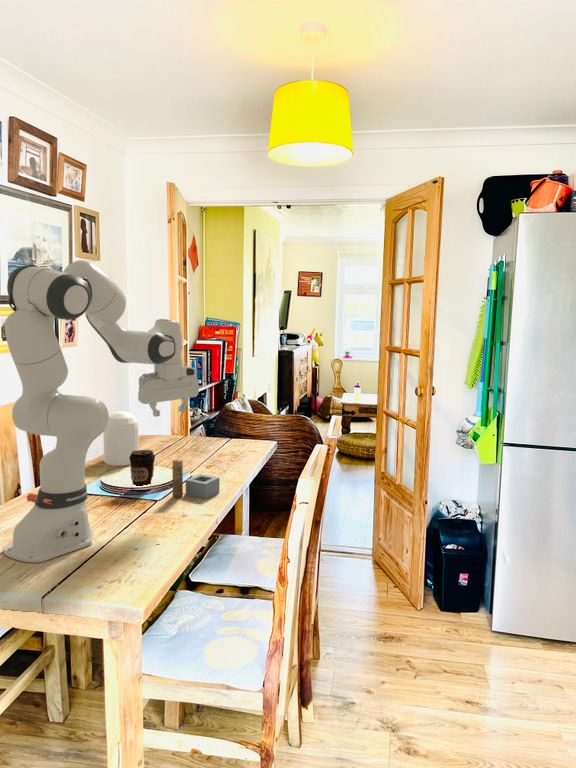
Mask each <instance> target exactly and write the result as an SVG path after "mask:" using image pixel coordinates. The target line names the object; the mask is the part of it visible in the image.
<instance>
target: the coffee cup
mask: <svg viewBox="0 0 576 768" xmlns="http://www.w3.org/2000/svg"><path fill="white" fill-rule="evenodd" d="M131 453H132V454H131V455H130V463H131V464H130V478H131V481H132V485H133V484H134V485H136V486H143V485H148V484H151V485H152V480H153V479H152V478H153V477H154V470H155V466H154V465H155V459H156V454H154V451H153V450H151V449H140V450H138V451H132V452H131Z"/></svg>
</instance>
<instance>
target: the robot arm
mask: <svg viewBox="0 0 576 768" xmlns="http://www.w3.org/2000/svg"><path fill="white" fill-rule="evenodd" d="M6 286H7V287H6V290H7V295H8V305H9V307H10V308H11V309H12V310H13V312H11V313H10V314H8V316H7V317H6V318H5V321H4V326H3V327H4V328H3V329H4V333H5V337H6V338H5V340H6V343H7V347H8V349H9V353H10V355H11V358H12V361H13V363H14V366H15V367H16V368H15V369H16V371H17V374H18V376H19V379H20V383H21V386H22V393H21V396H20V397H18V399H17V400H16V401H15V402H14V405H13V407H12V412H11V417H12V421H13V423H14V425H15V427H16V428H17V429H18V430H20V431H22V432H26V433H29V434H32V435H37V436H48V437H56V444H55V447H54V449H51V450H50V451H48V452H47V453H45V454H44V455H43V456H42V458H41V459H40V460H39V483H40V484H39V488H38V491H37V493H36V494H35V493H31V492H29V493H28V494H27V495H26V498H25V499H26V501H28V502H32V503H34V505H33V506H32V508H31V509H30V510H29V511H28V512H27V513H26V514H25V516H23V518H22V519H21V520H20V521H19V522H18V523H17V524H16V525H15V527H14V530H13V532H12V534H13V535H12V542H9V543H8V544H6V545H4V546H3V547H2V553H3V555H5V556H7V557H8V558H11V559H13V560H16V561H20V562H24V563H43V562H46V561H49V560H52V559H53V558H56V557H60V556H62V555H65V554H69V553H71V552H74V551H77V550H79V549H82V548H85V547H89V546H90V545H92V544H93V542H92V541H93V540H92V537H93V530H92V529H91V525H90V521H89V515H88V509H87V501H86V500H87V498H88V491H87V490H88V489H87V487H88V486H87V484H86V483H85V482H86V480H85V479H86V477H85V476H86V475H85V474H86V472H85V470H86V469H85V468H86V456H87V453H88V451H89V448H90V446H91V444H93V442H94V441H95V440H96V439H97V438H99V436H101V435H102V434H104V433H103V432H104V430H105V429H106V427H107V425H108V421H109V416H110V415H109V411H108V407H107V406H106V404H105V403H104V402H103V401H101V400H99V399H96V398H93V397H90V396H84V395H72V394H71V395H70V394H63V393H61V392H60V391H59V389H58V388H59V387H61V386H62V385H63V384H64V383H65V382H66V380H67V379H68V374H69V369H68V366H67V362H66V359H65V357H64V354H63V351H62V349H61V345H60V343H59V340H58V338H57V335H56V333H55V328H54V327H55V325H54V323H55V318H56V319H59V320H64V321H65V320H66V321H68V320H75V319H78V318H80V317H81V316H83V314H85V318H86V319H87V322H88V323H89V325H90V326H91V327H92V328H93V330H94V332H95V331H96V333H97V335H99V337H101V339H102V340H103V341H104V343H106V345H107V347H108V348H109V350H110V352H111V354H112V356H113V358H114V359H115V360H116V361H117V362H120V363H121V364H122V363H123V364H132V363H133V364H145V365H153V367H154V368H153V370H154V371H153V372H149V373H147V372H146V373H143V374H141V376H139V378H138V394H137V395H138V396H137V400H138V401H139V403H141V404H143V405H148V404H149V407H150V409H151V411H152V416H153V417H160V415H161V414H160V413H161V412H160V411H161V410H160V409H159V410H158V409H157V405H158V404H157V403H162V402H168V401H169V402H170V401H176V400H177V401H178V400H181V401H182V402H181V404H180V405H179V406H178V412H179V413H185V412H186V411H187V409H186V407H187V405H188V403H189V399H190V398H196V397H197V396H198V395H199V392H200V389H199V379H198V377H197V376H196V375H197V374H198V372H197V371H198V370H197V369H196V368H194V367H191V366H187V365H185V364H184V360H183V355H182V352H183V343H184V342H183V333H182V332H183V331H182V327H181V325H180V322H179V321H176V320H173V319H167V318H165V319H164V318H161V319H156V320H155V322H154V325H153V327H152V328H151V329H149V330H148V331H141V330H140V331H138V330H129V329H124V328H122V327H121V326H120V324H118V321H119V320H120V319H121V317H122V316H123V315H124V314H125V310H126V308H127V307H126V306H127V298H126V296H125V294H124V292H123V290H122V289H121V288H120V286H118V285H117V283H115V281H113V279H112V278H111V277H110V276H109V275H107V274H106V273H105V272H104V271H103V270H101V269H100V268H99V267H98V266H96V265H94V263H92V262H90V261H87V260H76V261H73V262H70V263H69V264H68V265H66V267H65V268H64V270H63V271H59V270H58V269H57V270H56V269H54V268H49V267H43V266H37V265H33V264H32V265H22V266H19V267H16V268H15V269H14V270H12V272H11V273H10V274H9V276H8V279H7V285H6Z"/></svg>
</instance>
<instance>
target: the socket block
mask: <svg viewBox="0 0 576 768" xmlns="http://www.w3.org/2000/svg"><path fill="white" fill-rule="evenodd" d="M218 493H220V477H218V476H213V475H207V474H202V473H200V474H197V475H194V476H192V477H189V478H187V479H185V496H191V497H195V498H199V497H200V499H204V498H206V499H209V498H210V497H212V496H214V495H217V494H218Z"/></svg>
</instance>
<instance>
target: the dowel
mask: <svg viewBox="0 0 576 768" xmlns="http://www.w3.org/2000/svg"><path fill="white" fill-rule="evenodd" d="M183 464H184V463H183V460H182V459H174V460H172V498H174V499H181V498H183V496H184V495H183V494H184V492H183V488H184V487H183V481H184V480H183V477H184V476H183V475H184V474H183V471H184V470H183V466H184V465H183Z"/></svg>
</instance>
